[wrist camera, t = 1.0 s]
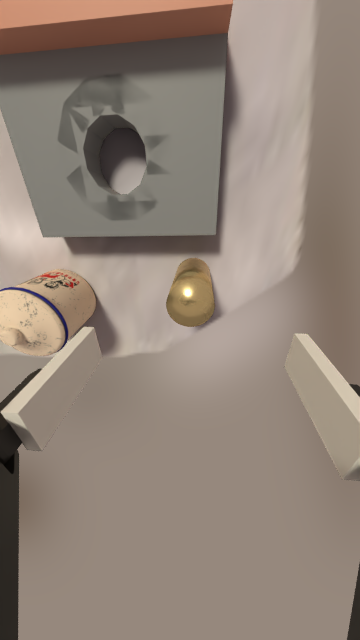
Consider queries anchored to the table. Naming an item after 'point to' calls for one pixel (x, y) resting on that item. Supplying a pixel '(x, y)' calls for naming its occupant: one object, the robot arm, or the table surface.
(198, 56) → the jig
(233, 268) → the table surface
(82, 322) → the teacup with lid
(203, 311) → the brass cylinder
